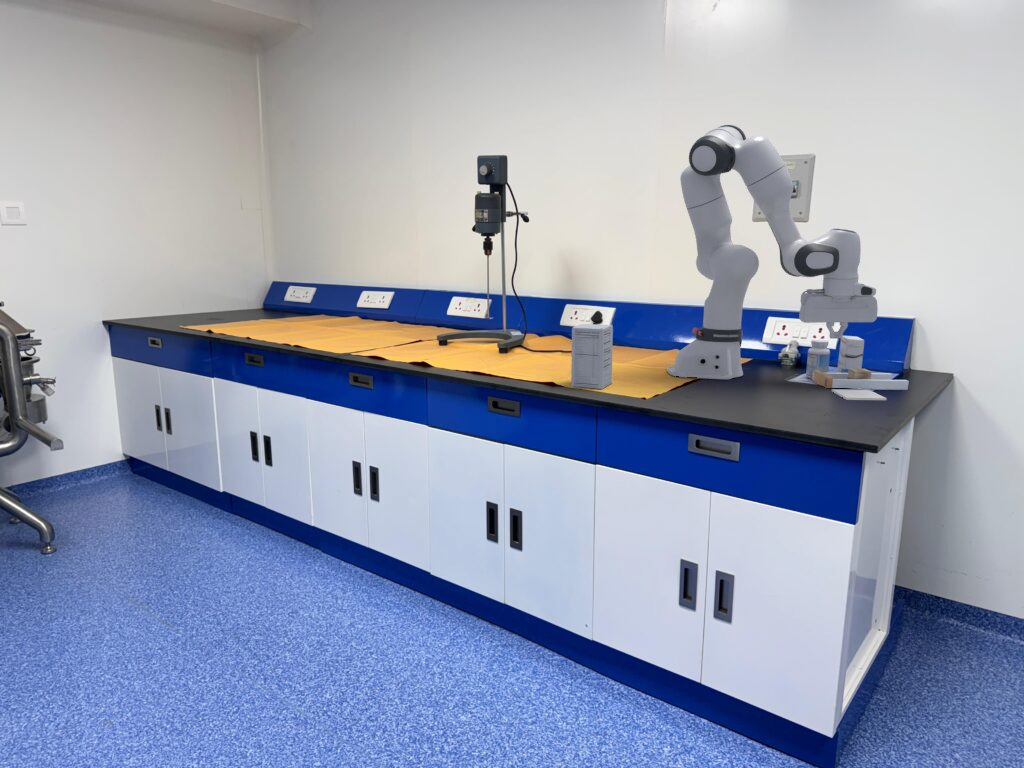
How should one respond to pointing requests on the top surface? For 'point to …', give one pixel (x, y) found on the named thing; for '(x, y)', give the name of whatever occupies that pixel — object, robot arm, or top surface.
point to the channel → (859, 381)
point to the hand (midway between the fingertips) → (835, 338)
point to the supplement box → (592, 356)
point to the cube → (859, 374)
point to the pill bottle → (818, 357)
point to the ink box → (850, 353)
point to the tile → (858, 394)
